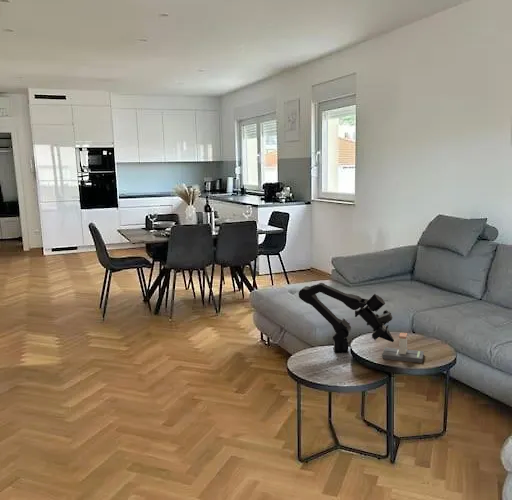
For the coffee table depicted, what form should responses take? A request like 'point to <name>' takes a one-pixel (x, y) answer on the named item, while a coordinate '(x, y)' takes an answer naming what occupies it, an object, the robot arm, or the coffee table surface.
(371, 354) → the coffee table surface
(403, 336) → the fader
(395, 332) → the coffee table surface
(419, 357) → the plate
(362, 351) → the coffee table surface
